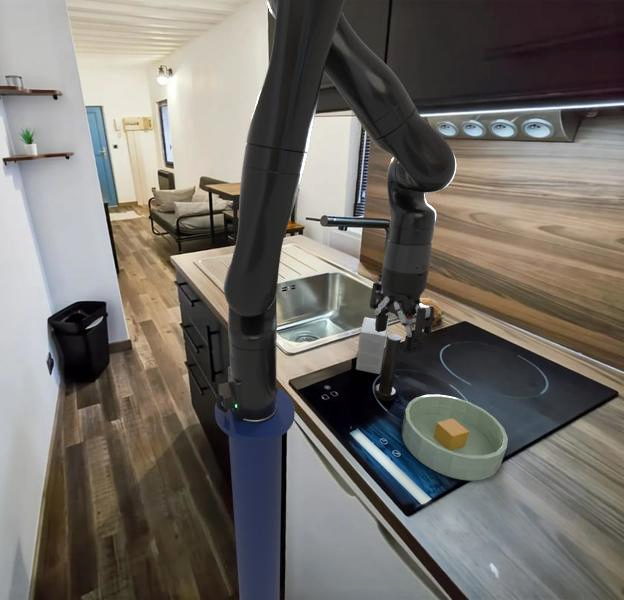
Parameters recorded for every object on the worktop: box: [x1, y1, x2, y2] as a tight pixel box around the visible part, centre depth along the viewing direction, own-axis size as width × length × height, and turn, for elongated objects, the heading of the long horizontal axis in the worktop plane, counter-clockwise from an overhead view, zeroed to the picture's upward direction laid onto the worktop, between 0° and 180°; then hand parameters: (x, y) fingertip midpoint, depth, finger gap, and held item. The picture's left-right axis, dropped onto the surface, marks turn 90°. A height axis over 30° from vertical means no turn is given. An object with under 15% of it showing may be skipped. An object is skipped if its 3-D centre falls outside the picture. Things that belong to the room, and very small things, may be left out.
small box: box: [355, 316, 389, 375], centre depth 87 cm, size 8×6×10 cm
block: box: [434, 418, 469, 451], centre depth 65 cm, size 4×4×4 cm
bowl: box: [401, 394, 509, 482], centre depth 65 cm, size 15×15×5 cm
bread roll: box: [406, 297, 445, 327], centre depth 107 cm, size 10×10×8 cm
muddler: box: [374, 333, 402, 402], centre depth 75 cm, size 4×4×14 cm
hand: (394, 340), depth 73 cm, fingers open, 8 cm apart
